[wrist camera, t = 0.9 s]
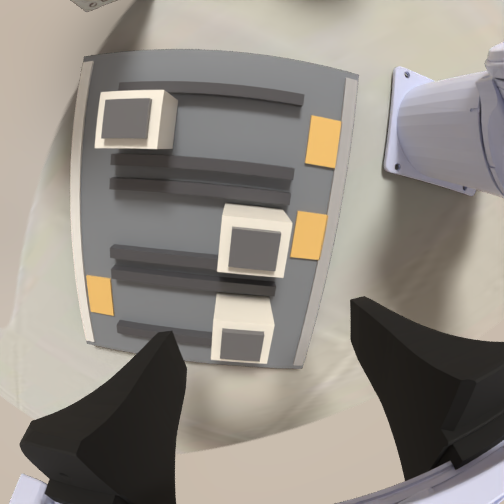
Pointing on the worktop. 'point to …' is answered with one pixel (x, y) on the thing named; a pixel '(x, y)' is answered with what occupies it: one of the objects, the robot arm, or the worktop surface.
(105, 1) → the skincare box
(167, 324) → the console
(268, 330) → the switch
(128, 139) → the switch
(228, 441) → the worktop surface
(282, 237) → the switch middle
